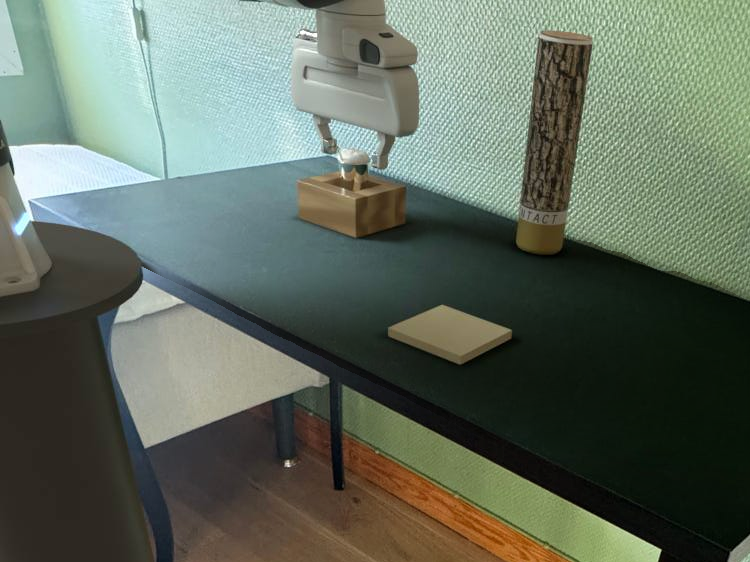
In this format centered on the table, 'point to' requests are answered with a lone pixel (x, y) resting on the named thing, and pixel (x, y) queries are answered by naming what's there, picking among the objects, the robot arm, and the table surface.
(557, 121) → the paper tube
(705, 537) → the table surface
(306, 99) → the robot arm
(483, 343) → the mat
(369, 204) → the holder
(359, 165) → the milkshake
